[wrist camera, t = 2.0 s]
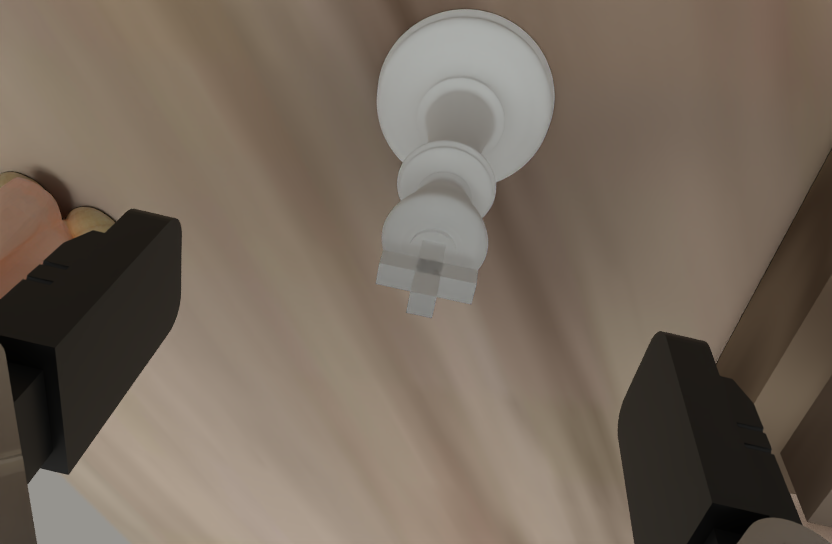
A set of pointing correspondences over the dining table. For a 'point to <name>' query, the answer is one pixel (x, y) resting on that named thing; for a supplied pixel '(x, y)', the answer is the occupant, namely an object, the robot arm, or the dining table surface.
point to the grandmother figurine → (35, 227)
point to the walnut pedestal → (794, 352)
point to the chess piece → (455, 144)
